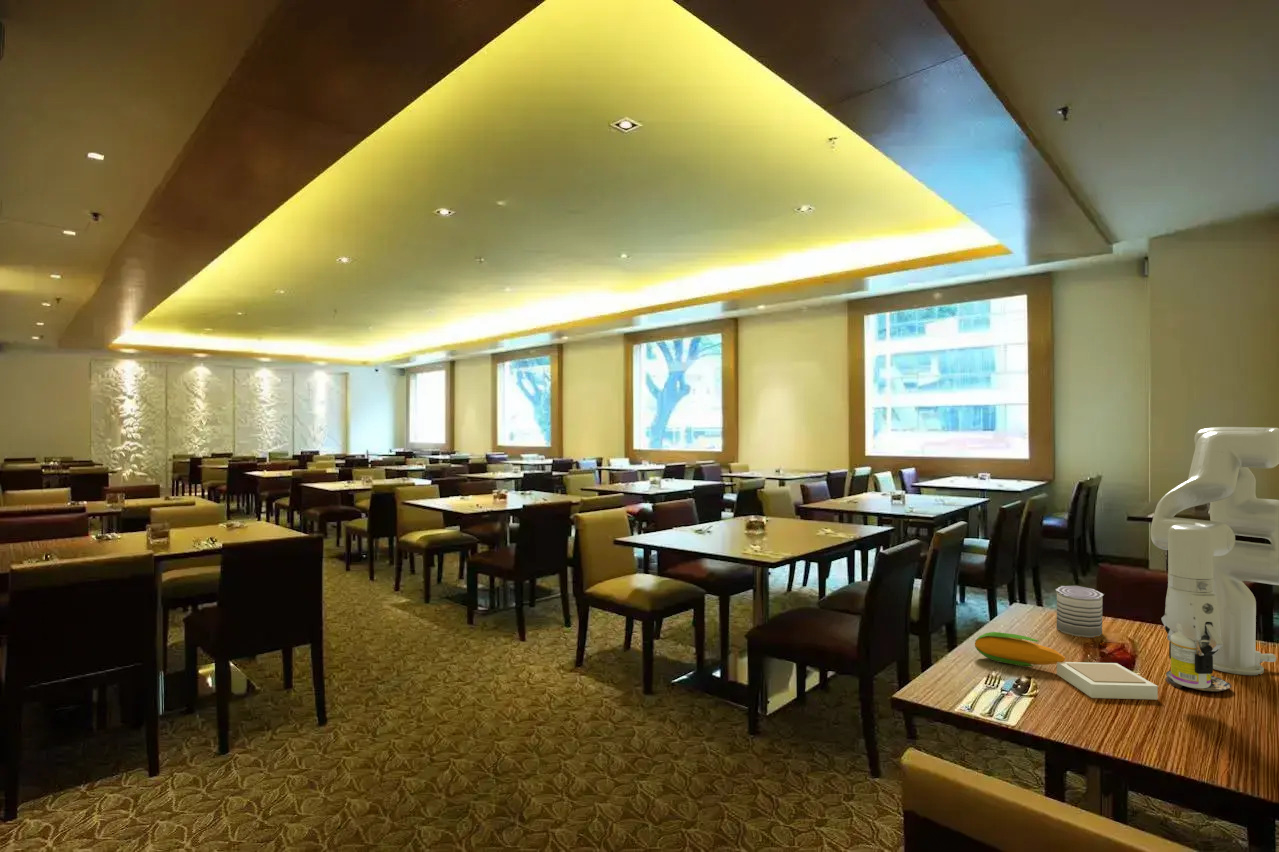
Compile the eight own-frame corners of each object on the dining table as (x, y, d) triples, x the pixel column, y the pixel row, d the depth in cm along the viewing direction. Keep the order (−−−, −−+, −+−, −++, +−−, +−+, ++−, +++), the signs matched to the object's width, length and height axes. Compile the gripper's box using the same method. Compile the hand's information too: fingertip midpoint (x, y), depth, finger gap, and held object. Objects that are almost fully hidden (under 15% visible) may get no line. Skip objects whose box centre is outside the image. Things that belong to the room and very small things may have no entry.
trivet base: (1116, 675, 164) (1116, 662, 163) (1157, 699, 150) (1157, 684, 150) (1056, 674, 164) (1056, 660, 164) (1091, 697, 150) (1091, 683, 150)
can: (1106, 631, 198) (1106, 590, 198) (1098, 640, 190) (1098, 597, 190) (1061, 622, 206) (1061, 583, 206) (1051, 631, 198) (1052, 590, 197)
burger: (1176, 692, 154) (1177, 659, 154) (1157, 674, 165) (1157, 643, 165) (1242, 700, 150) (1242, 666, 150) (1217, 681, 161) (1218, 649, 161)
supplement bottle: (1196, 676, 148) (1196, 618, 148) (1219, 689, 141) (1219, 628, 141) (1163, 676, 149) (1163, 618, 148) (1184, 689, 142) (1184, 628, 142)
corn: (977, 623, 179) (1066, 637, 168) (978, 651, 180) (1067, 667, 168) (972, 632, 173) (1064, 646, 162) (972, 661, 174) (1064, 678, 162)
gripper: (1242, 595, 135) (1242, 683, 136) (1178, 572, 153) (1179, 651, 153) (1203, 595, 136) (1203, 683, 137) (1144, 573, 153) (1144, 651, 154)
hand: (1190, 665), depth 145 cm, fingers closed on supplement bottle, 6 cm apart
